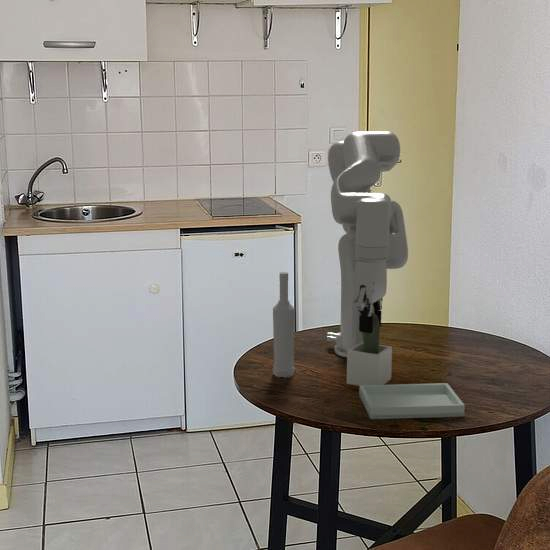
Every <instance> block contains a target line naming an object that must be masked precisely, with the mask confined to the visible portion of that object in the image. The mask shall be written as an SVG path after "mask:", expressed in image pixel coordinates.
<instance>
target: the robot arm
mask: <svg viewBox="0 0 550 550" xmlns="http://www.w3.org/2000/svg"><path fill="white" fill-rule="evenodd" d="M399 140H400V139H399V138H398V136H397V135H396V134H395V133H393V132H392V131H387V130H386V131H378V130H377V131H374V130H373V131H371V130H370V131H368V130H367V131H353V132H352V133H350V134H348V135H347V136H346V137H345V138H344V140H341V141H337V142H335V143H333V144H332V145H331V146H330V148H329V149H328V153H327V156H328V157H327V159H328V160H327V161H328V169H329V174H330V177H331V180H332V182H333V183H332V185H331V189H330V203H331V206H330V207H331V214H332V217H333V219H334V221H335V222H336V223H337V224H339V225H342V228H343V231H344V233H345V234H343V235H341V237H340V239H339V240H338V246H337V248H338V249H337V251H338V258H339V265H340V332H338V333H336V332H332V331H329V332H328V331H327V334H326V340H327V342H331V343H332V342H333V343H335V345H334V348H333V350H334V351H333V352H334V353H335V354H336V355H338V356H340V357H343V358H347V351H348V350H349V349H351V348H352V347H354V346H355V345H357V344H358V343H360V342H363V337H362V332H365V333H372V332H373V316H372V307H374V313H375V314H376V315H377V317H378V319H379V325H380V328H381V326H382V310H383V298H384V297H385V296H386V294H387V287H388V285H387V283H388V282H387V281H388V280H387V278H388V276H387V275H388V273H387V271H388V270H396V269H401V268H403V267H404V266H405V265H406V264H407V262H408V257H409V246H408V238H407V234H406V233H407V231H406V226H405V218H404V214H403V208H402V207H401V205H400V204H399V203H398V202H397V201H396V200H392V199H391V197H390V195H389V194H387V193H383V192H372V189H371V187H373V186H375V185H376V184H377V183H378V181H379V180H380V178H381V172H389V171H391V170H392V169H393V168H394V167H395V166H396V165H397V164H398V162H399V159H400V156H401V144H400V141H399ZM365 300H369V301H368V302H366V301H365ZM366 305H369V308H367V307H366Z"/></svg>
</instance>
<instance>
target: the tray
mask: <svg viewBox="0 0 550 550" xmlns="http://www.w3.org/2000/svg"><path fill="white" fill-rule="evenodd" d="M358 387H359V389H358V391H359V394H358V396H359V398H360V401H361V403H362V405H363V406H364V409H365V411H366V412H367V415H368V417H369V419H370V420H383V419H384V420H385V419H389V420H390V419H414V418H415V419H418V418H419V419H420V418H422V419H423V418H457V417H465V409H466V408H465V407H466V406H465V403H464V402H463V401H462V400H461V399H460V397H459V396H458V395H457V394H456V393H455V392H456V391H454V390H453V388H452V387H451V386H450V384H449V383H445V382H444V383H443V382H442V383H440V382H439V383H436V382H435V383H408V384H407V383H406V384H405V383H404V384H403V383H401V384H399V383H398V384H384V385H360V386H358Z"/></svg>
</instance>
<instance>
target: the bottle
mask: <svg viewBox="0 0 550 550" xmlns="http://www.w3.org/2000/svg"><path fill="white" fill-rule="evenodd" d="M295 309H296V308H295V307H294V306H293V305H292V304H291V303H290V300H289V272H286V271H282V272H279V300H278V302H277V303H276V304H275V306H273V308H272V322H273V323H272V328H273V329H272V331H273V367H272V373H273V375H275V376H274V377H276V376H277V378H280V377H284V378H285V379H286V378H287V377H288V378H291V377H293V376H294V374H295V367H294V358H295V357H294V356H295V354H294V353H295V351H294V348H295V318H296V317H295V313H296V312H295V311H296V310H295ZM284 378H283V379H284Z"/></svg>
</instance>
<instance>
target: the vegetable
mask: <svg viewBox="0 0 550 550" xmlns="http://www.w3.org/2000/svg"><path fill="white" fill-rule="evenodd" d="M365 301H366V302H368V301H369V300H365ZM366 307H367V308H369V305H366ZM372 316H373V332H372V333H365V332H362V337H363V342H364V352H366V353H373V354H378V349H379V345H380V329H381V327H380V325H379V319H378V317H377V315H376V314H375V313H374V307H372Z"/></svg>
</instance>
